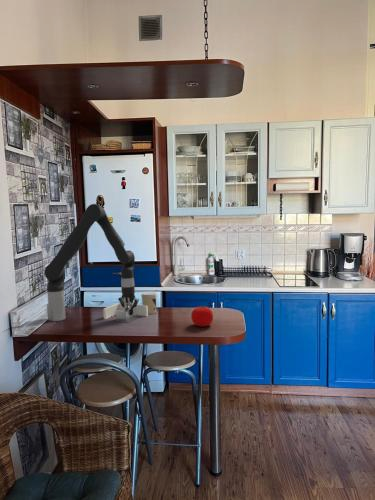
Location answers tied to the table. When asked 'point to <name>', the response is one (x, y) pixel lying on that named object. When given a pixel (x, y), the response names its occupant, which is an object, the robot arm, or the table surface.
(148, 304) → the coffee cup
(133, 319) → the mat
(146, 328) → the table surface
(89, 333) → the table surface
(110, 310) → the corner wall
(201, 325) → the tomato
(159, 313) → the table surface
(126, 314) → the bracket
